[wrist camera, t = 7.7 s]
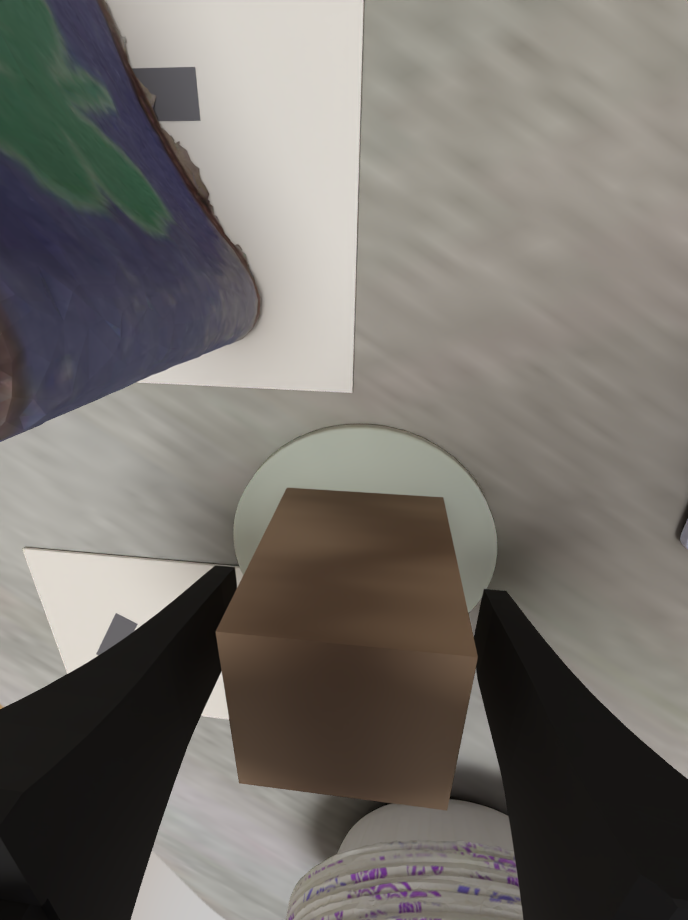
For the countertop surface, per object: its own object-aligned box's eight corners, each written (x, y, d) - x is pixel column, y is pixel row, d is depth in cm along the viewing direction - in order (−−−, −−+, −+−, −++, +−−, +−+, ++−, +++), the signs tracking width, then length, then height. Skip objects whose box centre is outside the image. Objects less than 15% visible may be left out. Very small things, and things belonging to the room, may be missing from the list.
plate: (516, 432, 13) (521, 439, 12) (472, 648, 16) (475, 661, 16) (227, 416, 13) (220, 422, 13) (248, 625, 17) (243, 637, 17)
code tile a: (368, -162, 8) (368, -169, 8) (352, 391, 13) (352, 392, 13) (-137, -126, 9) (-143, -131, 9) (17, 375, 14) (13, 376, 14)
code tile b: (242, 566, 16) (241, 569, 16) (257, 721, 20) (257, 723, 20) (24, 547, 17) (21, 549, 17) (78, 698, 20) (76, 701, 20)
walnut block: (443, 497, 13) (477, 657, 8) (428, 617, 15) (446, 810, 10) (286, 487, 14) (215, 631, 8) (293, 605, 16) (239, 783, 10)
